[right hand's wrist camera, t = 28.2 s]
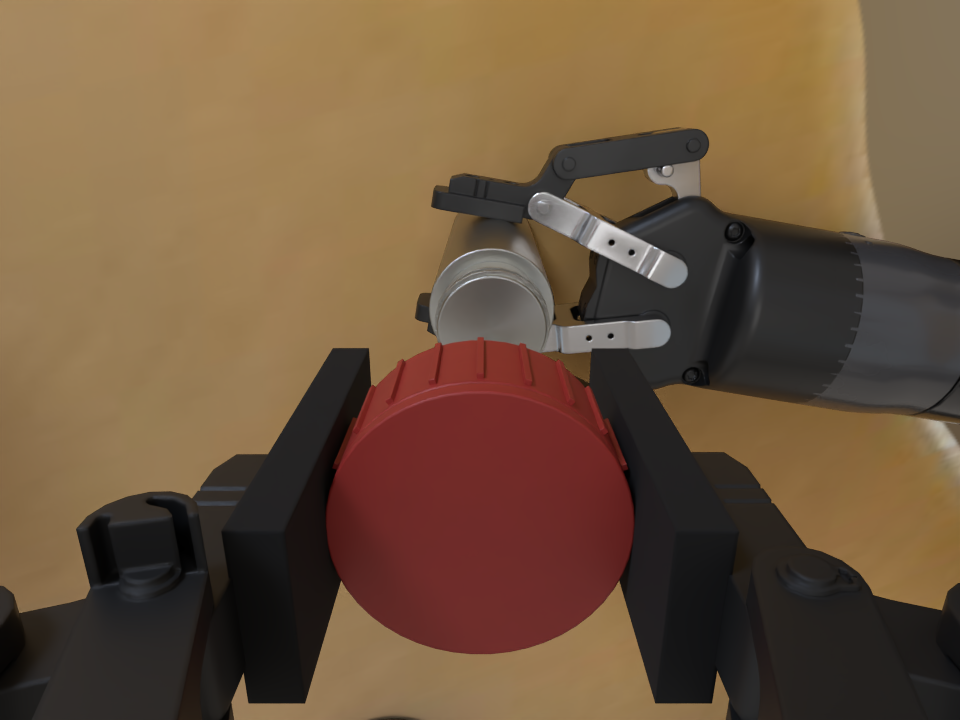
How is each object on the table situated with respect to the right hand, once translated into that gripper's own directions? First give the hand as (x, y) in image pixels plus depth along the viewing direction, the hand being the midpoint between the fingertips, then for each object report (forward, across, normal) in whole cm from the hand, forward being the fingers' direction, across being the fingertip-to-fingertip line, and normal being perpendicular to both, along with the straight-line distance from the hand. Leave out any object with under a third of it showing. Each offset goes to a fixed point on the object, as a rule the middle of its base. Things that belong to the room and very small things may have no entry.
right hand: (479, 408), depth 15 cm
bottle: (+22, +1, 0) cm, 22 cm away
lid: (-4, 0, 0) cm, 4 cm away
